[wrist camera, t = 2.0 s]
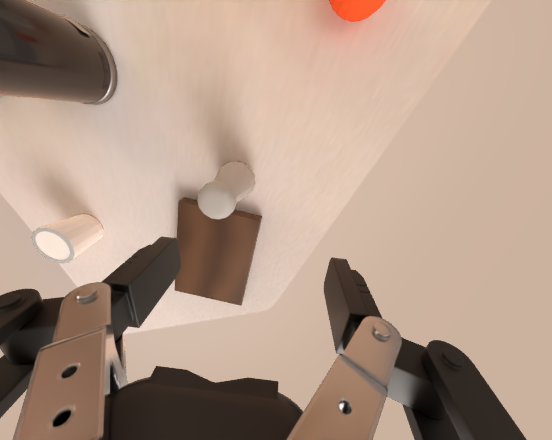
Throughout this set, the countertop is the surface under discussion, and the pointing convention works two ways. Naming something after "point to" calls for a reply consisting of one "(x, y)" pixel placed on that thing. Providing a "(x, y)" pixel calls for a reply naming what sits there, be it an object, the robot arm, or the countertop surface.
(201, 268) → the cutting board
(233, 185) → the salt shaker
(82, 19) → the countertop surface
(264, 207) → the countertop surface
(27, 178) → the countertop surface
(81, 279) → the countertop surface
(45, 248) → the white short cylinder
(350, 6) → the clementine
